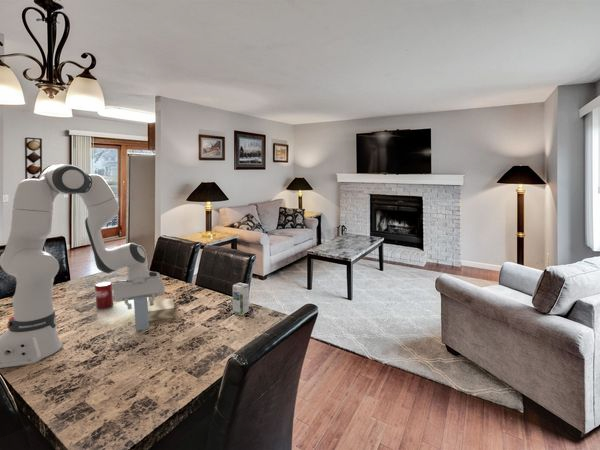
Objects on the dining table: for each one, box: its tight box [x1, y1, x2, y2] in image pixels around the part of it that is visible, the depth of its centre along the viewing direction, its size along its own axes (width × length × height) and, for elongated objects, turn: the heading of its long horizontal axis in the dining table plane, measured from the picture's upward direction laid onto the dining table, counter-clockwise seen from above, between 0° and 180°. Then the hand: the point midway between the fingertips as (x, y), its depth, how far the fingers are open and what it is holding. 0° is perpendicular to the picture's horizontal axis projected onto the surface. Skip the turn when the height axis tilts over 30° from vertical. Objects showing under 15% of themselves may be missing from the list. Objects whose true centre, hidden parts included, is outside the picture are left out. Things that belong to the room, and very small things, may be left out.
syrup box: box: [232, 282, 250, 316], centre depth 156 cm, size 6×6×14 cm
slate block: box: [133, 296, 150, 332], centre depth 139 cm, size 5×5×13 cm
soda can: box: [94, 281, 114, 310], centre depth 160 cm, size 7×7×12 cm
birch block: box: [147, 297, 175, 322], centre depth 154 cm, size 13×13×5 cm
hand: (140, 306), depth 139 cm, fingers open, 7 cm apart
